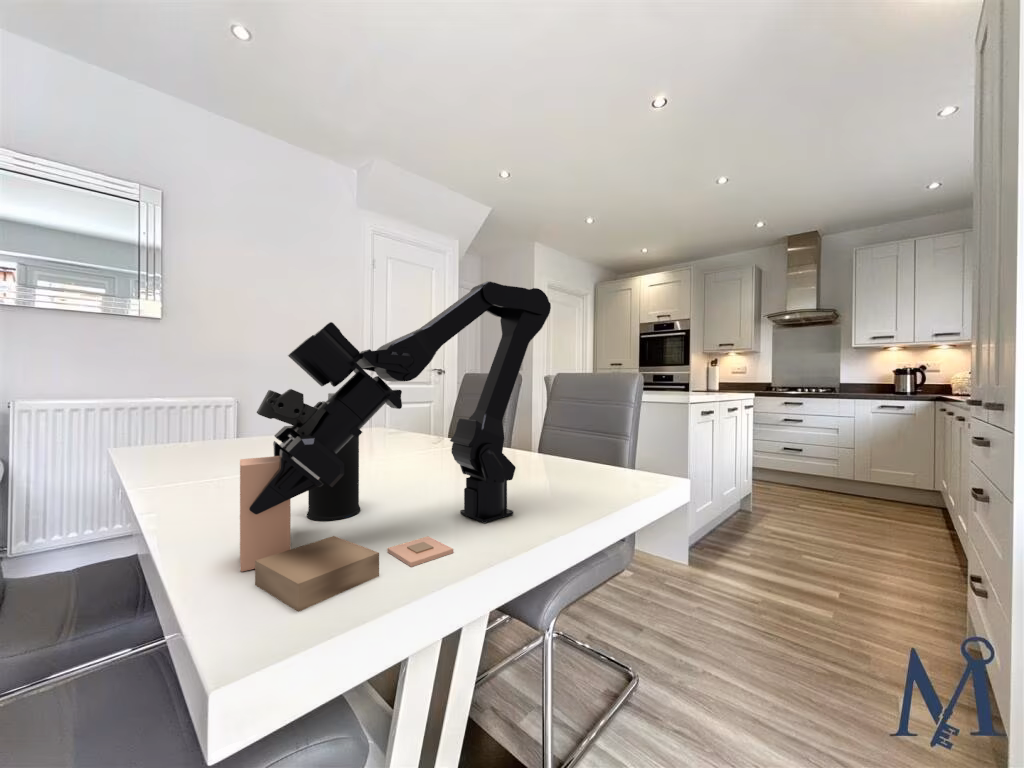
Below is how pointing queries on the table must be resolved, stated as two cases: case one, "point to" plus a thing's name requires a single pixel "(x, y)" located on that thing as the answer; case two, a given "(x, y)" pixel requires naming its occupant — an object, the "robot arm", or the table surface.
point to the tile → (419, 551)
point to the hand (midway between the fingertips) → (251, 506)
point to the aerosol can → (338, 488)
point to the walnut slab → (316, 571)
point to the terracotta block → (261, 514)
